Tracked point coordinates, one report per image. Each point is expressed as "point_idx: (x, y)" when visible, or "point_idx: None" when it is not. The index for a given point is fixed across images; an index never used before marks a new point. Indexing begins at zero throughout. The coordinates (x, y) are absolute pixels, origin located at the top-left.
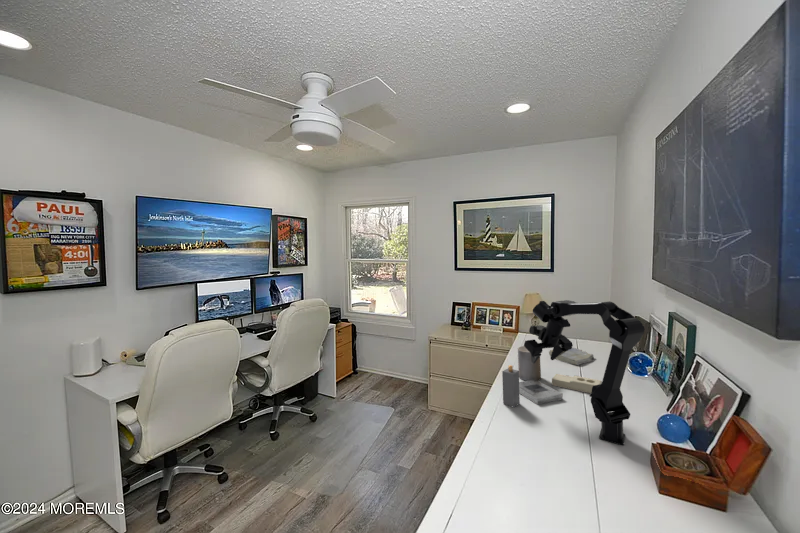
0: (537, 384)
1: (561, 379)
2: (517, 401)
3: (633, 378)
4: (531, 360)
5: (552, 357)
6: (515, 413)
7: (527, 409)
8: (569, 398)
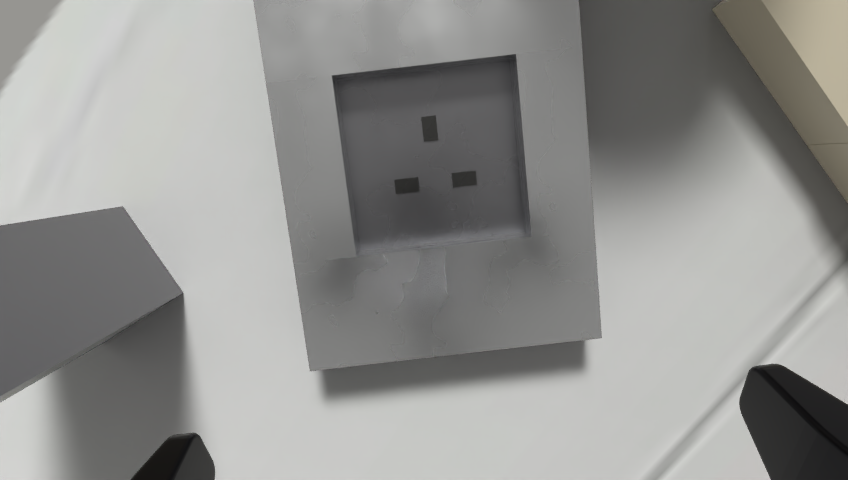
0: (515, 57)
1: (840, 39)
2: (137, 320)
3: None
4: (141, 469)
5: (789, 462)
6: (69, 435)
7: (194, 402)
8: (651, 320)
